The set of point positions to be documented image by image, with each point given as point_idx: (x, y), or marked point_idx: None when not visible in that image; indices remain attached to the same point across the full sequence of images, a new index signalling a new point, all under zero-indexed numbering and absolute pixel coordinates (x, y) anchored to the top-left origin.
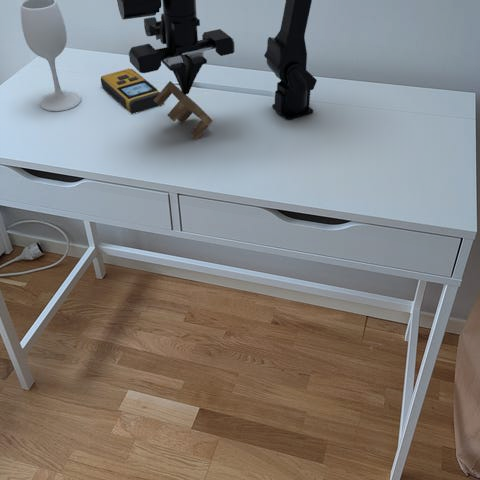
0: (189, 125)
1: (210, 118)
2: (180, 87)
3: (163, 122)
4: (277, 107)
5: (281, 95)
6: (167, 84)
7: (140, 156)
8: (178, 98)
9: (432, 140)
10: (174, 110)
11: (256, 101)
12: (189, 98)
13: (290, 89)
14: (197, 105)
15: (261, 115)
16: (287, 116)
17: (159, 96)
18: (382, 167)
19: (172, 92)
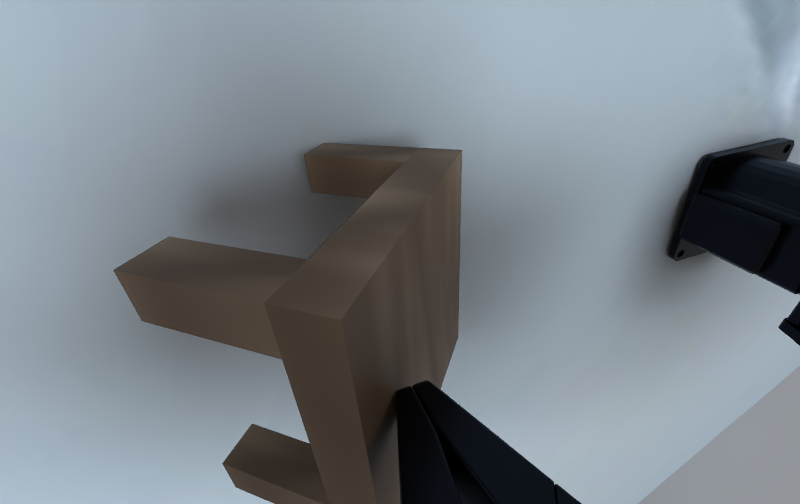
0: (360, 197)
1: (452, 351)
2: (397, 435)
3: (218, 116)
4: (700, 223)
5: (757, 270)
6: (294, 317)
7: (61, 402)
8: (333, 494)
9: (761, 371)
10: (276, 496)
11: (703, 80)
12: (427, 298)
13: (795, 330)
14: (449, 251)
15: (636, 202)
16: (679, 250)
17: (179, 314)
18: (643, 436)
19: (310, 428)
